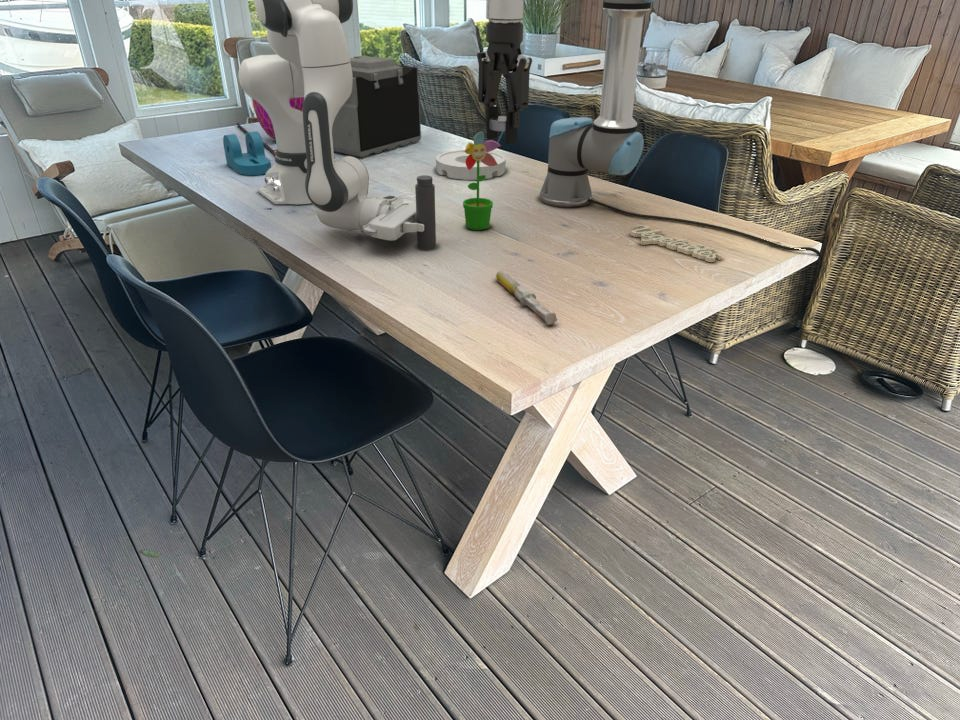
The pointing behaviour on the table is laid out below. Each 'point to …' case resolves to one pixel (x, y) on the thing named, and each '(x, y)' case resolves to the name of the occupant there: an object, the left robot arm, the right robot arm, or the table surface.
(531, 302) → the syringe
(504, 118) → the lid
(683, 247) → the decorative sign
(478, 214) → the potted flower
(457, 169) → the ashtray
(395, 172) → the table surface
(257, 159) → the camera mount
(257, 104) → the decorative egg
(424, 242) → the bottle
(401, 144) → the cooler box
